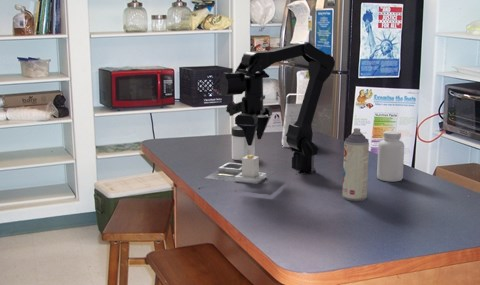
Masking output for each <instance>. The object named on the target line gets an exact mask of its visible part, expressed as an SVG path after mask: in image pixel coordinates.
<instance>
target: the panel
mask: <svg viewBox="0 0 480 285" xmlns="http://www.w3.org/2000/svg"><path fill="white" fill-rule="evenodd" d="M275 173H277V172H276V171H274V170H265V169H259V176H258V177H256V178H252V177H243V176H242V163H238V162H237V163H235V162H226V163H225V164H223V165H221V166H218V170H216V171H214V172H212V173H211V174H208V175H207V176H205V177H204V180H205V179H206V180H216V181H223V182H224V181H225V182H234V183H235V182H236V183H244V184H252V185H260V184H261V183H262V182H264V181H265V180H266V179H268V178H269V177H270V176H271V175H273V174H275Z"/></svg>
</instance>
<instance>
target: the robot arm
mask: <svg viewBox="0 0 480 285" xmlns="http://www.w3.org/2000/svg"><path fill="white" fill-rule="evenodd" d="M299 57H302V59H303V60H304V61H305V62H306V63H308V66H307V71H308V78H309V79H308V82H307V87H306V90H305V92H304V95H303V99H302V102H301V104H302V106H301V109H300V112H299V116H298V119H297V121H296V122H295V124H294V125H291V124H289V126H288V132H287V134H286V135H285V136H287V138H286V142H287V143H288V145H289V146H290V147H289V149H290V151H291V152H293V154H292V155H293V156H292V157H291V168H292V169H296V170H299V171H298V172H297V173H298V174H306V175H308V174H309V175H311V174H312V173H313V172H314V171H316V167H315V156H316V155H318V152H319V147H317V145H316V144H315V143H314V142H313V136H314V135H313V134H314V133H313V128H312V124H313V122H314V121H313V120H314V117H315V114H316V111H317V107H318V104H319V100H320V97H321V94H322V90H323V87H324V83H325V82H326V81H327V80H328V79H329V77H331V75H332V73H333V70H334V68H335V66H336V60H335V59H334V58H335V57H333V56H332V54H328V53H326V52H324V51H323V50H321V49H319V48H317V47H315V45H313V44H312V43H311V42H307V41H299V42H297V43H294V44H289V45H286V46H282V47H278V48H275V49H269V50H253V51H246V52H245V53H243V55H242V56H241V61H240V62H239V64H238V66H237V67H236V70H234V72H223V73H222V78H221V79H220V83H219V88H220V92H221V94H222V96H224V97H226V96H236V95H242V94H243V93H244V96H243V97H241V100H240V101H239V102H236V103H235V101H230V102H228V103H227V104H226V107H225V108H226V109H225V111H226V113H229V117H233V116H234V115H236V114H238V115H236V116H235V117H234V125H236V126H239V127H240V128H241V129H243V132H244V134H245V138H246V141H247V144H248V145H249V146H251V145H252V142H253V139H254V136H256V137H257V138H256V139H257V140H262V138H263V136H264V133H265V130H266V129H267V126H268V124H269V121H270V120H271V117H272V116H273V109H272V107H271V106H270V105H269V106H267V105H264V100H265V99H266V94H265V95H264V79H265V78H266V79H267V78H268V79H269V78H270V75H269V74H268V73H267V72H266V71H265V70H267V69H268V68H269V67H271V65H274V64H275V63H279V62H283V61H287V60H290V59H294V58H299Z"/></svg>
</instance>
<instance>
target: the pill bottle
mask: <svg viewBox="0 0 480 285" xmlns="http://www.w3.org/2000/svg"><path fill="white" fill-rule="evenodd" d="M382 134H383V135H382V136H383V137H382V140H380V141H379V142H378V145H377V146H378V147H377V165H376V166H377V168H376V169H377V170H376V178H377V179H378V180H380V181H384V182H391V183H392V182H400V181H402V180H403V177H404V163H405V161H404V160H405V144H404V142H403V141H402V140H401V137H402V133H401V132H400V131H396V130H394V131H393V130H387V131H386V130H385V131H383V133H382Z"/></svg>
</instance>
